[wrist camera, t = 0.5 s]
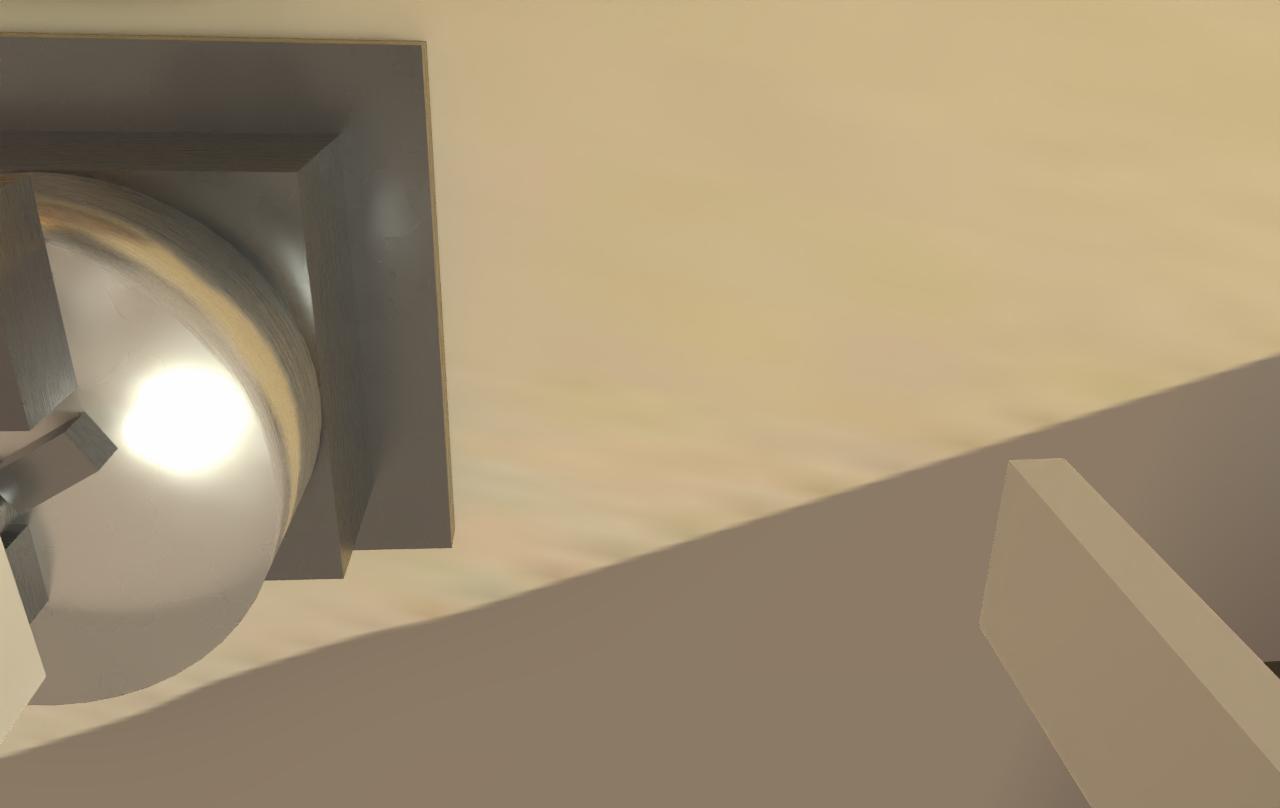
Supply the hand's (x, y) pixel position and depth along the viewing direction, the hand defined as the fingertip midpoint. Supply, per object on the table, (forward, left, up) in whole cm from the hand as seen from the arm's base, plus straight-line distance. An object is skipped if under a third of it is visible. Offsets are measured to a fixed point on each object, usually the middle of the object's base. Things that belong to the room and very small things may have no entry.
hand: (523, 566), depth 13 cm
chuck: (+5, -14, -18) cm, 23 cm away
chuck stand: (+6, -14, -26) cm, 30 cm away
